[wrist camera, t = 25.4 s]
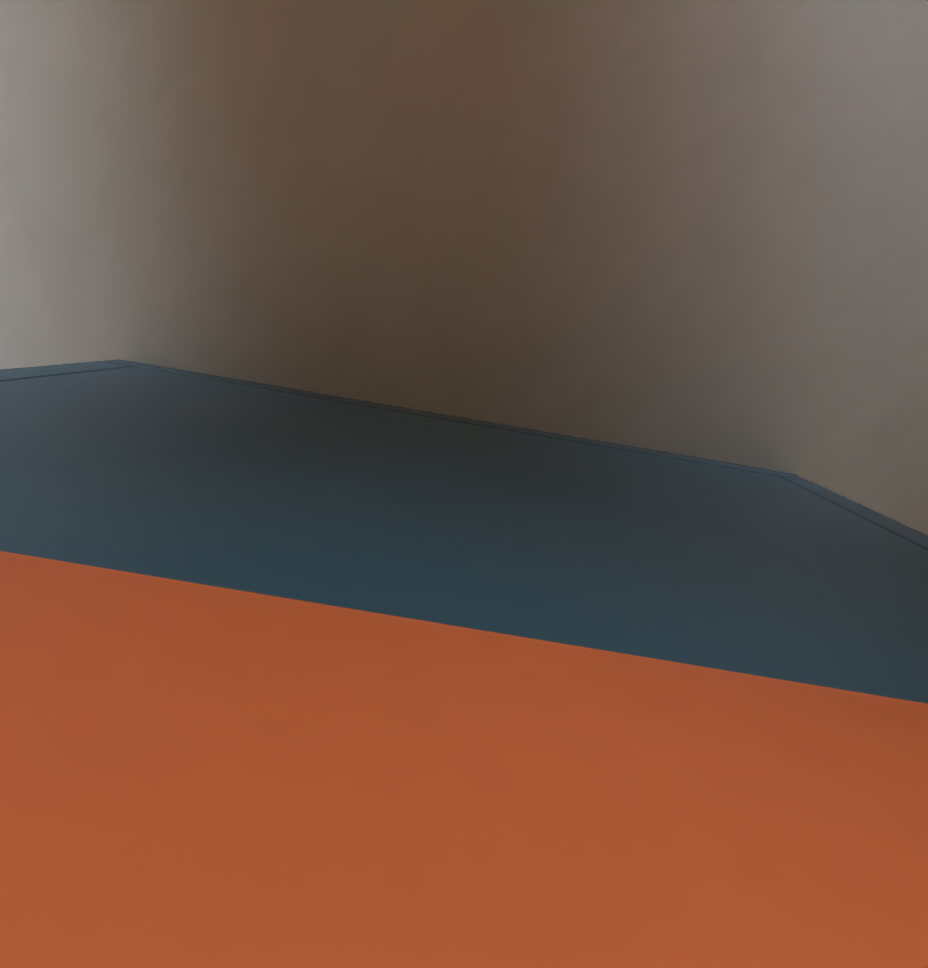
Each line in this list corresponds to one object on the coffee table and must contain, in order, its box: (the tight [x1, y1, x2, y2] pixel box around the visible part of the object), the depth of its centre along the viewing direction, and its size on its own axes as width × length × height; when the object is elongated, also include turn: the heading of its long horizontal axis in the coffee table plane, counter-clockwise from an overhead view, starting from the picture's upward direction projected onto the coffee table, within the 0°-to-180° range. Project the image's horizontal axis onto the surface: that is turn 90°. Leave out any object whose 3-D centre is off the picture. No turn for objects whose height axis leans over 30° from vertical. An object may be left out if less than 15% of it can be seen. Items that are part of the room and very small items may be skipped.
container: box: [0, 360, 928, 704], centre depth 12 cm, size 15×18×12 cm
